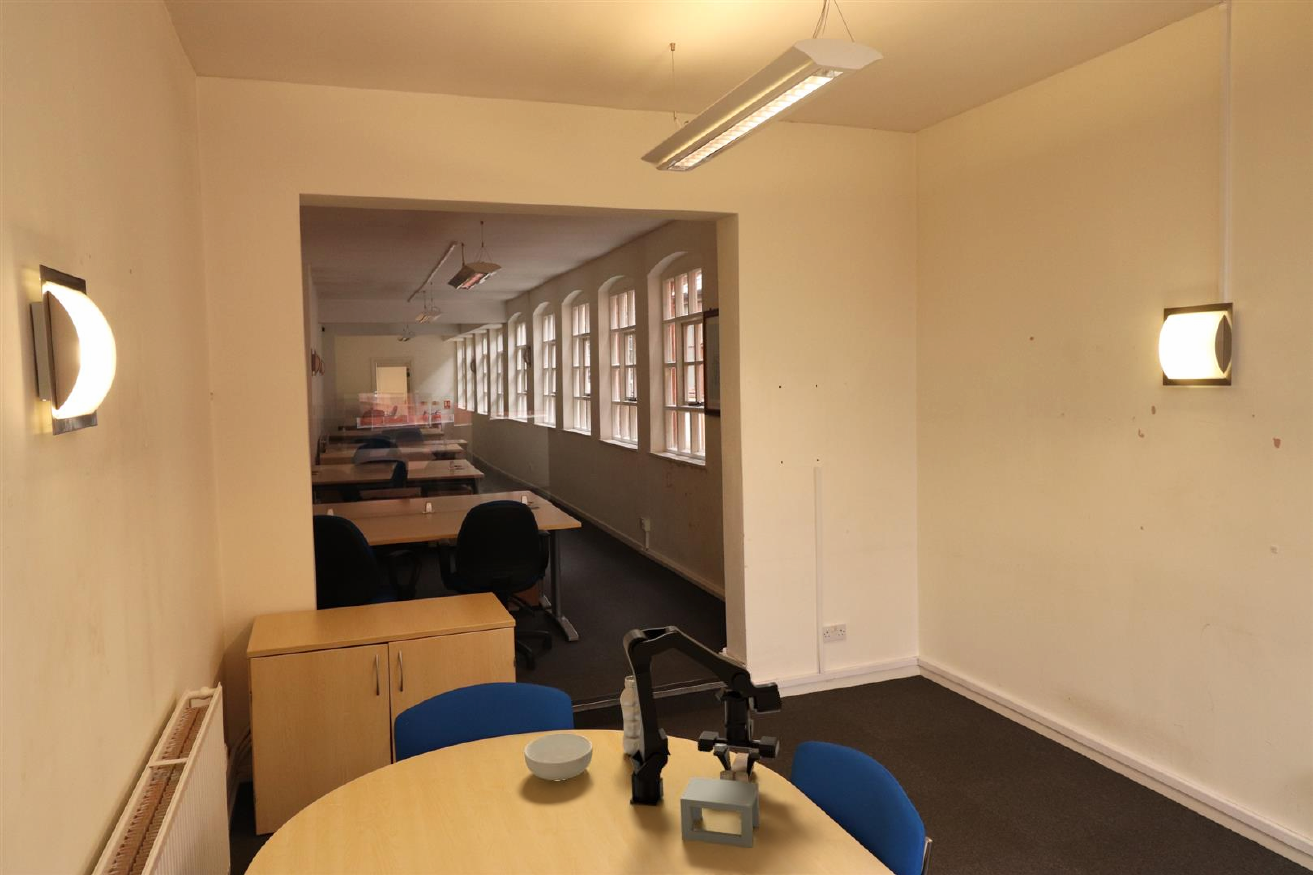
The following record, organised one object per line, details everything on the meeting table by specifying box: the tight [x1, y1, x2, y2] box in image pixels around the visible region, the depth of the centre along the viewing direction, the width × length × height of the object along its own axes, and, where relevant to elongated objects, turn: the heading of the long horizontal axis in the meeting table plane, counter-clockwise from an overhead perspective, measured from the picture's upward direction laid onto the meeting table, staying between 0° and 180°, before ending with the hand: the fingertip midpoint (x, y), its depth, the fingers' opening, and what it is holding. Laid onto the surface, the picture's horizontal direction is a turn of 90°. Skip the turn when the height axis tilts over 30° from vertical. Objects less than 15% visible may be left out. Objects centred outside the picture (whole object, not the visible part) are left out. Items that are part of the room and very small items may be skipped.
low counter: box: [679, 776, 761, 849], centre depth 187 cm, size 15×10×9 cm, turn 73°
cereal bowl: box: [523, 732, 594, 781], centre depth 216 cm, size 17×17×7 cm
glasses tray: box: [719, 752, 755, 783], centre depth 206 cm, size 18×7×5 cm, turn 163°
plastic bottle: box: [619, 675, 641, 756], centre depth 226 cm, size 6×7×20 cm
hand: (739, 778), depth 207 cm, fingers closed on glasses tray, 4 cm apart
